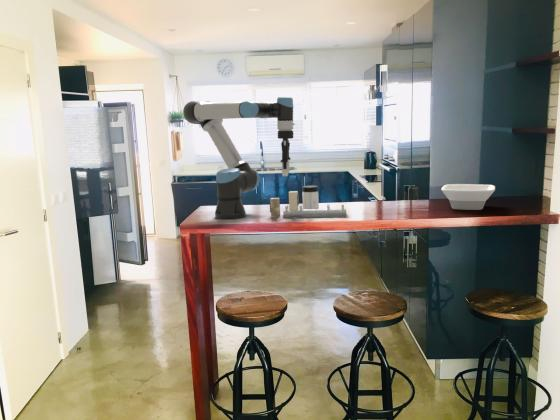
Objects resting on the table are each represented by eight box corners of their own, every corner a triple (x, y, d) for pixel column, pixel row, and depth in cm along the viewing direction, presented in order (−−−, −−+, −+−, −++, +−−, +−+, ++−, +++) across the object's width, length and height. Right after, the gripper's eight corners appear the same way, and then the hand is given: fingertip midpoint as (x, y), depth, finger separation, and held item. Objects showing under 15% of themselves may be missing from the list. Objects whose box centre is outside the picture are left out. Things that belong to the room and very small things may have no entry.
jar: (308, 211, 236) (307, 187, 234) (299, 209, 243) (298, 186, 241) (322, 208, 241) (321, 186, 239) (312, 207, 247) (312, 185, 245)
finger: (270, 217, 222) (269, 199, 220) (271, 216, 226) (270, 197, 224) (279, 217, 221) (278, 198, 220) (280, 215, 225) (279, 197, 224)
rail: (282, 218, 219) (281, 193, 217) (284, 214, 227) (283, 190, 225) (346, 217, 215) (346, 191, 213) (346, 213, 224) (345, 189, 222)
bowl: (494, 204, 234) (495, 184, 233) (494, 212, 212) (495, 190, 210) (444, 203, 245) (444, 183, 243) (439, 210, 222) (439, 189, 220)
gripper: (292, 130, 207) (292, 177, 211) (294, 129, 232) (294, 171, 236) (275, 130, 208) (276, 177, 212) (279, 130, 232) (279, 172, 236)
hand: (285, 174), depth 224 cm, fingers open, 13 cm apart
